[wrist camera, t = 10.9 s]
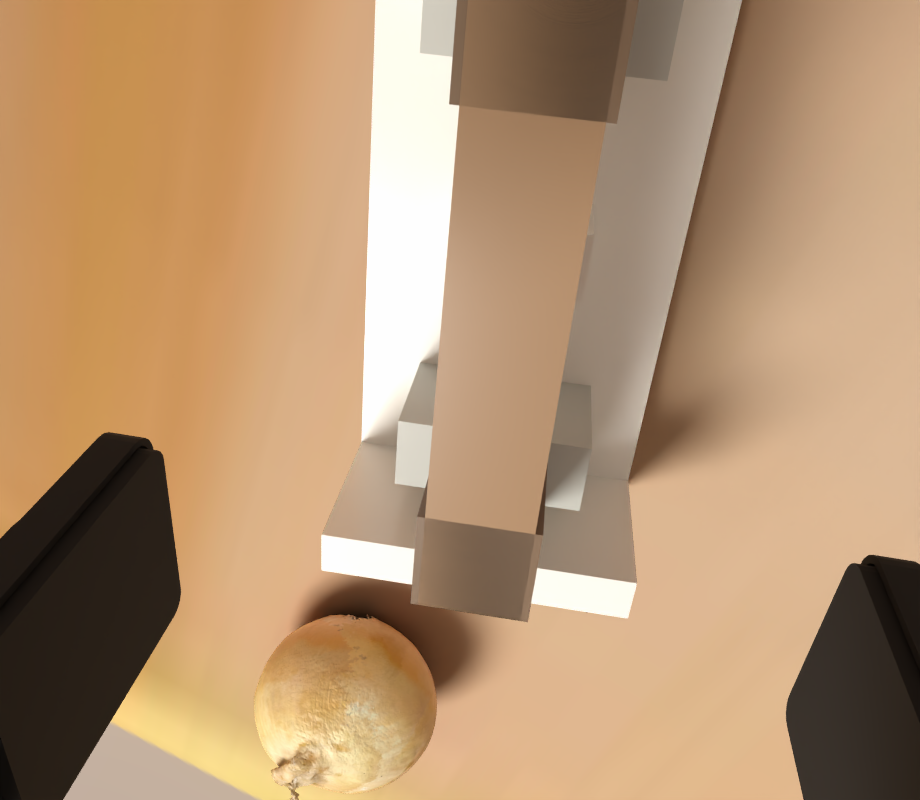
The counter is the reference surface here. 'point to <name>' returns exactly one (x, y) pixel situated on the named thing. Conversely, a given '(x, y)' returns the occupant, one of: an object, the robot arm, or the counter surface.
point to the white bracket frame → (596, 307)
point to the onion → (344, 705)
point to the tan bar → (511, 284)
